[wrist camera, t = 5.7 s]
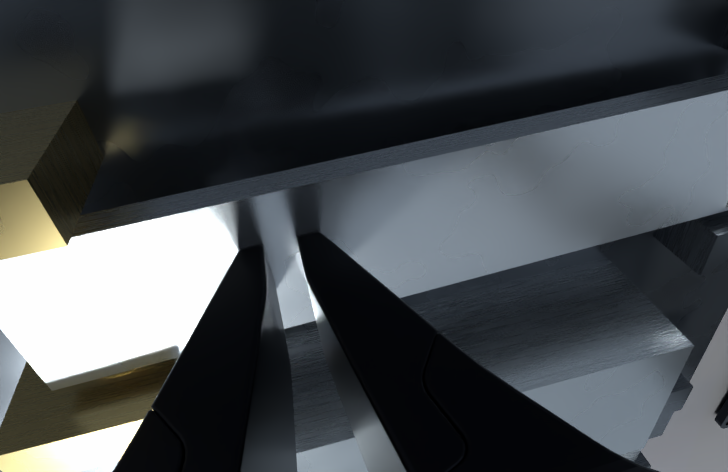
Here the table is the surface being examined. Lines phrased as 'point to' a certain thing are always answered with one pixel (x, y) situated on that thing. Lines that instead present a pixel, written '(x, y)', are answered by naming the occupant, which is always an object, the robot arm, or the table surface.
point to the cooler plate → (342, 139)
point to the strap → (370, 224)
